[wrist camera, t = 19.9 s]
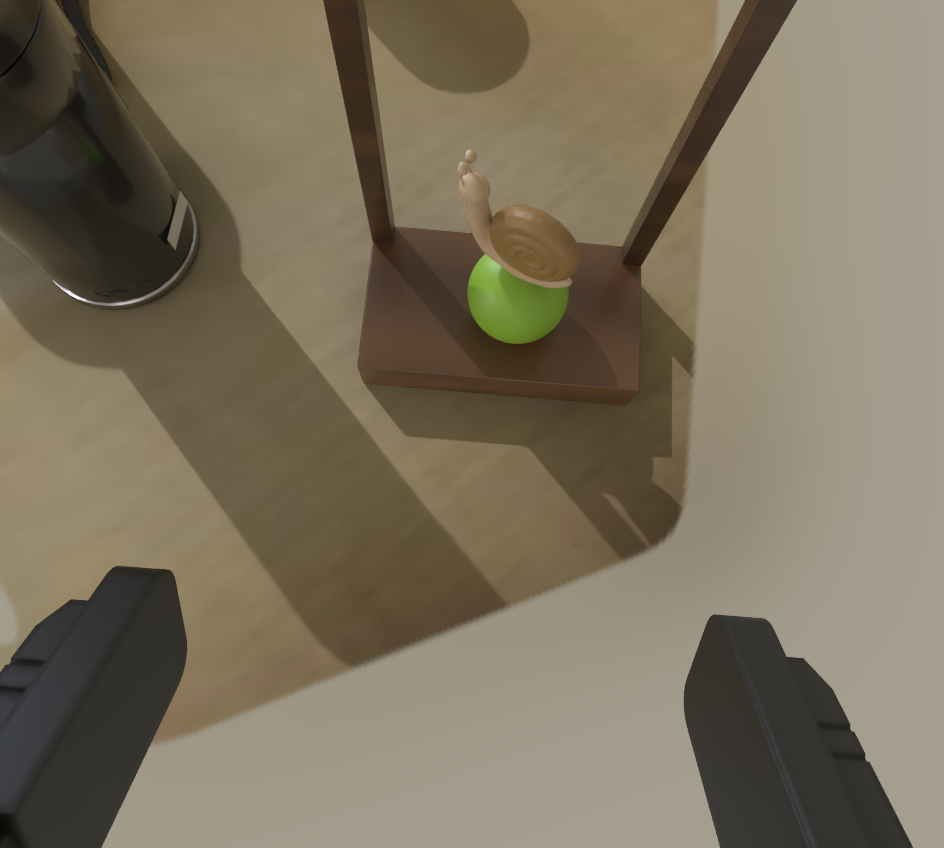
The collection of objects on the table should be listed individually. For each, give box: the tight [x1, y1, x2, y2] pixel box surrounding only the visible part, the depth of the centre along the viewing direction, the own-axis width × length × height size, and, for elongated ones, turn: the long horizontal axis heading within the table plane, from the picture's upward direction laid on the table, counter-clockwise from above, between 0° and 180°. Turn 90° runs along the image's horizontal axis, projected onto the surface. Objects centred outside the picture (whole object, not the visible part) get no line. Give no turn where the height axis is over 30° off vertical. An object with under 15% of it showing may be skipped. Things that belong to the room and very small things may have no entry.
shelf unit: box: [323, 0, 797, 405], centre depth 24 cm, size 9×16×38 cm, turn 86°
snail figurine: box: [457, 150, 580, 344], centre depth 34 cm, size 5×6×12 cm
